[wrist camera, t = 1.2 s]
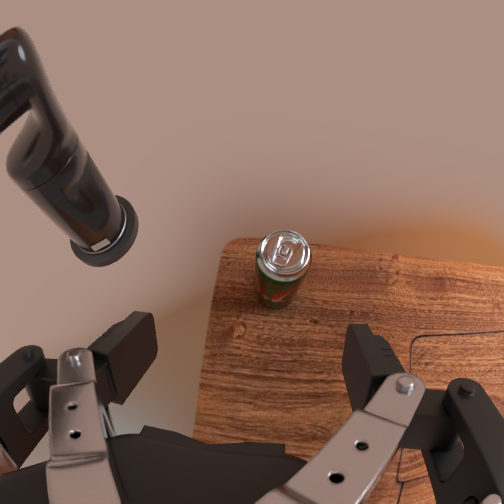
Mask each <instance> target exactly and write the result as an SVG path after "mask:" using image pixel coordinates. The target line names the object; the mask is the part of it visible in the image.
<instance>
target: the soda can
mask: <svg viewBox="0 0 504 504" xmlns="http://www.w3.org/2000/svg"><path fill="white" fill-rule="evenodd" d="M311 261H312V255H311V250H310V248H309V246H308V243H307V242H306V240H305V239H304V238H303V237H302V236H301V235H300V234H299V233H297V232H295V231H292V230H289V229H279V230H276V231H273V232H271V233H270V234H268V235H267V236H265V237H264V238H263V239H262V240H261V241H260V243H259V245H258V247H257V250H256V262H255V295H256V297H257V299H258V300H259V302H260V303H261V304H263V305H264V306H266V307H268V308H271V309H280V308H283V307H285V306H287V305H289V304H290V303H291V302H292V300H293V299H294V297H295V295H296V293H297V291H298V289H299V287H300V285H301V284H302V282H303V280H304V278H305V276H306V274H307V272H308V270H309V268H310V265H311Z"/></svg>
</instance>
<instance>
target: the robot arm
mask: <svg viewBox="0 0 504 504" xmlns="http://www.w3.org/2000/svg"><path fill="white" fill-rule="evenodd" d="M28 110H29V113H28V116H27V118H26V121H25V123H24V125H23V127H22V129H21V130H20V132H19V134H18V135H17V137H16V138H15V140H14V142H13V143H12V145H11V147H10V149H9V152H8V155H7V158H6V171H7V173H8V176H9V177H10V178H11V180H12V181H13V182H14V183H15V184H16V185H17V186H18V187H19V188H20V189H21V191H22V192H23V193H24V194H25V195H26V196H27V197H28V198H29V199H30V200H31V201H32V202H33V203H34V204H35V205H36V206H37V207H38V208H39V209H40V210H41V211H42V212H43V213H44V214H45V215H46V216H47V217H48V218H49V219H50V220H51V221H52V222H53V223H54V224H55V225H56V226H57V227H58V228H59V229H60V230H61V231H62V232H64V233H65V234H66V235H67V236H68V237H69V238H70V239H71V240H72V241H73V242H74V243H75V244H76V245H77V246H78V247H79V248H80V249H81V250H82V251H83V252H85V253H87V254H90V255H100V254H103V253H106V252H108V251H109V250H111V249H112V248H114V247H115V246H116V245H117V244H118V243H119V241H120V240H121V239H122V237H123V235H124V233H125V231H126V228H127V214H126V211H125V209H124V208H123V206H122V205H121V204H120V203H119V201H118V200H117V198H116V197H115V195H114V193H113V192H112V190H111V189H110V187H109V186H108V184H107V183H106V181H105V179H104V178H103V176H102V175H101V173H100V171H99V170H98V168H97V166H96V165H95V163H94V162H93V160H92V159H91V157H90V155H89V153H88V152H87V150H86V149H85V147H84V145H83V143H82V142H81V140H80V138H79V136H78V135H77V133H76V131H75V129H74V128H73V126H72V124H71V122H70V121H69V119H68V118H67V116H66V114H65V112H64V110H63V109H62V107H61V105H60V103H59V101H58V99H57V97H56V94H55V92H54V90H53V88H52V85H51V83H50V81H49V78H48V75H47V73H46V70H45V68H44V65H43V62H42V60H41V57H40V55H39V52H38V50H37V47H36V46H35V44H34V41H33V40H32V38H31V36H30V35H29V33H28V32H27V31H26V30H25V29H23V28H22V27H20V26H13V27H11V28H9V29H7V30H6V31H4V32H3V33H1V34H0V134H1V133H2V132H3V131H5V130H6V129H7V128H8V127H9V126H10V125H11V124H13V123H14V122H15V121H16V120H17V119H18V118H19V117H21V116H22V115H23V114H24V113H25V112H27V111H28ZM157 351H158V346H157V338H156V332H155V324H154V318H153V315H152V314H151V313H147V312H139V311H134V312H133V313H132V314H131V315H129V316H128V317H127V318H126V319H125V320H123V321H121V322H119V323H117V324H114V325H113V326H112V327H111V328H109V329H108V330H107V332H105V333H104V334H103V335H102V336H100V337H99V338H98V339H97V340H96V341H95V342H93V343H92V344H91V345H90V346H89V347H88V348H87V349H85V348H72V349H69V350H66V351H64V352H63V353H61V354H60V356H59V357H58V359H46V358H45V356H44V353H43V350H42V348H41V347H39V346H35V345H29V346H24V347H22V348H20V349H18V350H16V351H15V352H14V353H13V354H11V355H10V356H9V357H8V358H6V359H5V360H4V361H3V362H1V363H0V504H364V503H365V502H366V501H367V499H368V498H369V496H370V495H371V493H372V492H373V490H374V489H375V487H376V486H377V484H378V482H379V481H380V479H381V478H382V476H383V475H384V473H385V472H386V470H387V468H388V467H389V465H390V463H391V462H392V460H393V458H394V457H395V455H396V453H397V451H398V450H399V448H409V449H421V451H422V454H423V458H424V461H425V464H426V467H427V471H428V474H429V478H430V481H431V485H432V488H433V492H434V496H435V499H436V503H437V504H504V419H503V417H502V416H501V414H500V413H499V411H498V410H497V408H496V407H495V405H494V404H493V402H492V401H491V399H490V398H489V396H488V395H487V393H486V392H485V390H484V389H483V388H482V386H481V385H480V384H479V383H477V382H476V381H474V380H471V379H467V378H457V379H454V380H452V381H451V382H450V383H449V385H448V388H447V390H446V391H443V390H431V389H425V384H424V382H423V381H422V380H421V379H420V378H419V377H417V376H415V375H413V374H409V373H406V372H405V370H404V369H403V367H402V365H401V363H400V362H399V360H398V358H397V356H395V353H394V351H393V350H392V348H391V346H390V345H389V343H388V341H386V340H385V339H384V338H382V337H381V336H379V335H375V336H374V335H373V333H372V331H371V329H370V328H369V326H368V324H349V325H348V328H347V333H346V340H345V346H344V352H343V358H342V372H343V376H344V380H345V383H346V387H347V391H348V395H349V399H350V403H351V407H352V411H353V414H352V415H351V416H350V417H349V418H348V420H347V421H346V422H345V423H344V424H343V425H342V427H341V428H340V429H339V430H338V431H337V432H336V433H335V434H334V436H333V437H332V438H331V439H330V440H329V441H328V442H327V443H326V444H325V445H324V446H323V447H322V449H321V450H320V451H319V452H318V453H317V454H316V455H315V456H314V457H313V458H312V459H311V460H310V461H309V462H308V461H306V460H303V459H301V458H298V457H295V456H292V455H288V454H285V444H272V443H255V442H243V443H231V444H214V445H211V444H206V443H203V442H200V441H198V440H195V439H192V438H190V437H187V436H185V435H182V434H180V433H177V432H173V431H168V430H164V429H159V428H155V427H150V426H146V425H145V426H144V427H143V429H142V431H141V432H140V434H124V435H118V436H117V435H116V432H115V428H114V424H113V421H112V417H111V413H110V409H109V407H108V404H109V403H110V402H113V403H116V404H120V405H123V403H124V402H125V400H126V399H127V398H128V396H129V395H130V393H131V392H132V390H133V389H134V388H135V386H136V385H137V384H138V382H139V381H140V379H141V378H142V377H143V375H144V374H145V372H146V371H147V370H148V368H149V367H150V365H151V364H152V363H153V361H154V360H155V358H156V356H157ZM24 387H25V388H26V391H27V393H28V395H29V397H30V399H31V400H30V401H29V402H28V403H27V404H26V405H25V406H24V407H23V408H22V409H21V410H20V411H19V412H18V414H17V413H16V411H15V409H14V406H13V401H14V398H15V396H16V395H17V394H18V393H19V392H20V391H21V390H22V389H23V388H24ZM48 430H49V448H50V460H48V461H44V462H41V463H38V464H35V465H32V466H28V467H25V468H21V469H19V468H20V467H21V466H22V464H23V463H24V462H25V460H26V459H27V457H28V456H29V455H30V453H31V452H32V451H33V449H34V448H35V447H36V446H37V444H38V443H39V442H40V440H41V439H42V438H43V436H44V435H45V434H46V433H47V431H48ZM460 439H461V441H462V443H463V446H464V448H463V446H462V444H461V441H460Z"/></svg>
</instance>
